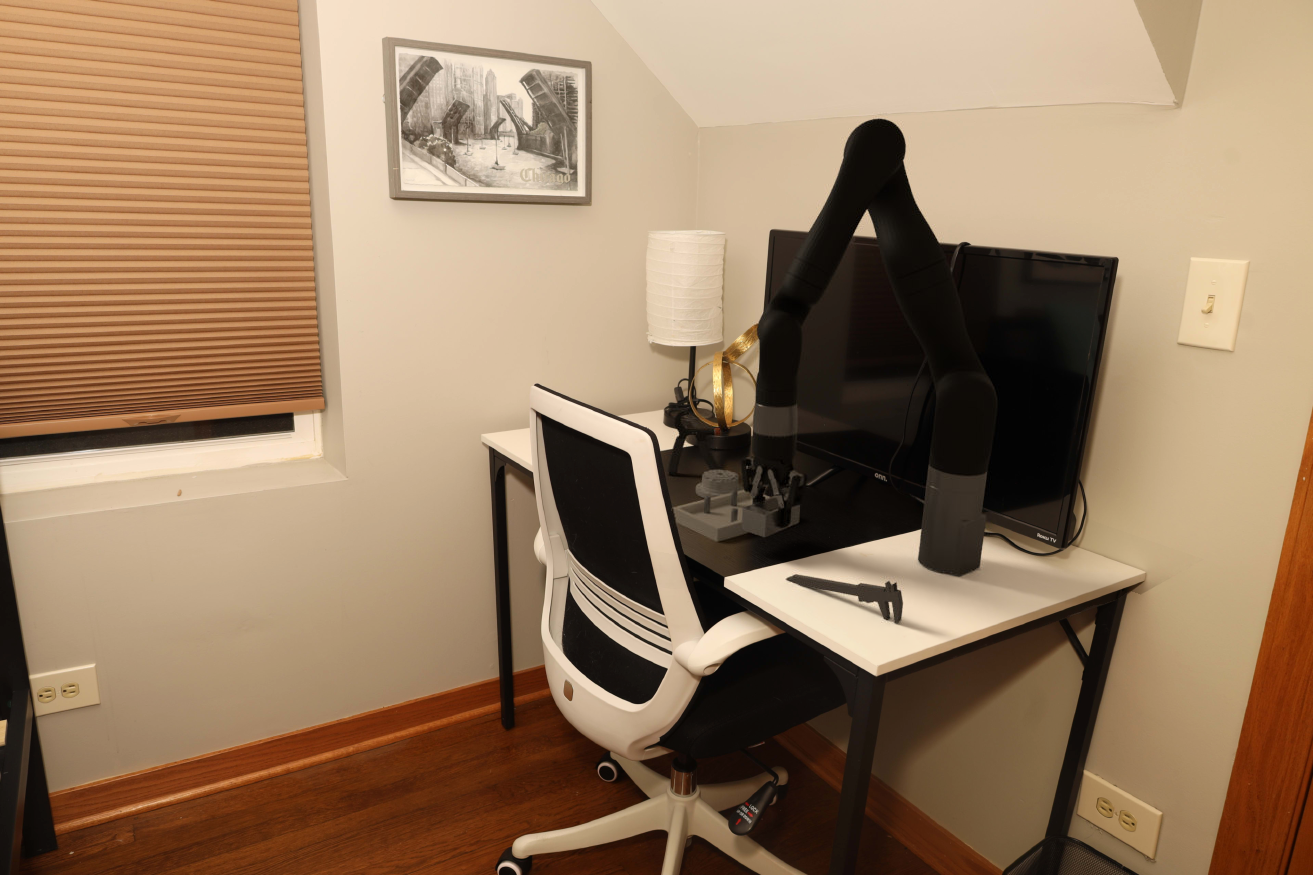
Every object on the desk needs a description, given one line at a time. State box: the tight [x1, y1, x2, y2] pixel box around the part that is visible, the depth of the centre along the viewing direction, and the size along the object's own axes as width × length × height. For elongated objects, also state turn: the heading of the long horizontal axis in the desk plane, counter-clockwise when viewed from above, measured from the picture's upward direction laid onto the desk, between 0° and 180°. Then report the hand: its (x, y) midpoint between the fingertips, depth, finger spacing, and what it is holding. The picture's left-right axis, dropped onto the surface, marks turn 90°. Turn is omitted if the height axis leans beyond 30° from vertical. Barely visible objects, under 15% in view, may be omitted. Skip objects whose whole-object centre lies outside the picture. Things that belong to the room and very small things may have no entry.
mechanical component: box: [695, 469, 744, 498], centre depth 180 cm, size 10×4×10 cm
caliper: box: [785, 573, 904, 624], centre depth 133 cm, size 20×1×6 cm, turn 45°
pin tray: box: [672, 490, 771, 543], centre depth 166 cm, size 13×20×4 cm, turn 128°
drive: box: [742, 495, 801, 538], centre depth 152 cm, size 5×10×4 cm, turn 136°
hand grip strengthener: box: [667, 408, 724, 477], centre depth 189 cm, size 2×12×15 cm, turn 78°
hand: (770, 521), depth 152 cm, fingers closed on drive, 5 cm apart
